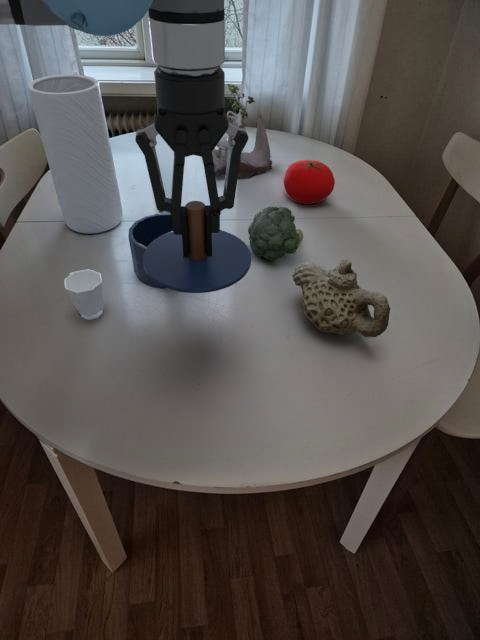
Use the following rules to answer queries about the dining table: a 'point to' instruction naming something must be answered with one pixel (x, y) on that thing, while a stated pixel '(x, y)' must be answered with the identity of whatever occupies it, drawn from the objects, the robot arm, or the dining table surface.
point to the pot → (147, 241)
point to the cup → (86, 292)
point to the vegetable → (274, 233)
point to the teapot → (340, 300)
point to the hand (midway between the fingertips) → (197, 251)
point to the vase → (78, 150)
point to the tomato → (308, 181)
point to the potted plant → (249, 161)
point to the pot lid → (197, 257)
